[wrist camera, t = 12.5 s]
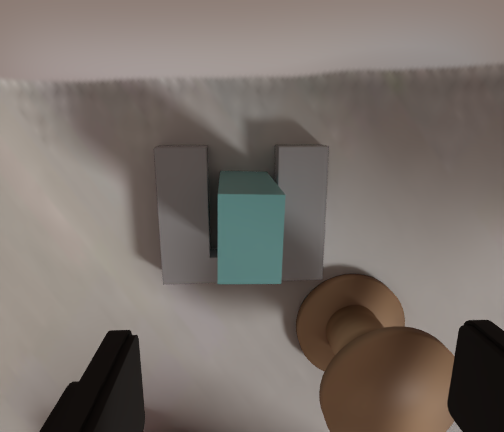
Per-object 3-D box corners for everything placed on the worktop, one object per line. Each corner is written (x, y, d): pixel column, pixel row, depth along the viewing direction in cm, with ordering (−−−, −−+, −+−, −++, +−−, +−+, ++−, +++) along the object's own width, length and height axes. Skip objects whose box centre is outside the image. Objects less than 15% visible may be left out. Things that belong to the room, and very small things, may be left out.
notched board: (321, 144, 27) (328, 146, 25) (316, 269, 30) (322, 279, 28) (159, 145, 27) (153, 147, 25) (167, 273, 29) (162, 284, 27)
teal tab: (266, 171, 28) (285, 194, 19) (264, 235, 29) (281, 283, 20) (220, 170, 27) (217, 193, 19) (220, 234, 29) (217, 284, 20)
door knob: (404, 272, 31) (475, 332, 22) (394, 365, 33) (454, 453, 24) (297, 275, 30) (327, 338, 21) (294, 370, 32) (320, 462, 24)
